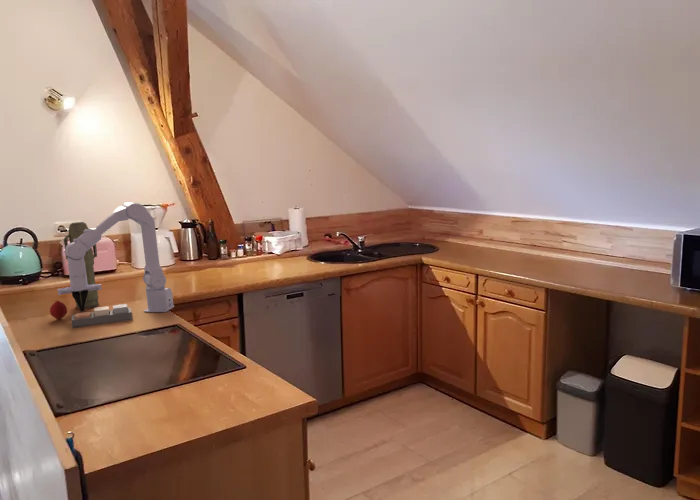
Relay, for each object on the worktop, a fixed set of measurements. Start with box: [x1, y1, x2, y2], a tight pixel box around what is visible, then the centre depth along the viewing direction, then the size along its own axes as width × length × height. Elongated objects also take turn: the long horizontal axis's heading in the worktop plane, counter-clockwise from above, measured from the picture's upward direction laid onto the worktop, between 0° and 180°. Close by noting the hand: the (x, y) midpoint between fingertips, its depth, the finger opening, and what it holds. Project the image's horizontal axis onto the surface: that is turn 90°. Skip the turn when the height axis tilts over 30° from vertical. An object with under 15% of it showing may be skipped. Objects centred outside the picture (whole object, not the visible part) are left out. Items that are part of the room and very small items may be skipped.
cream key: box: [93, 305, 110, 316], centre depth 216 cm, size 5×5×3 cm
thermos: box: [63, 221, 99, 309], centre depth 237 cm, size 9×12×35 cm
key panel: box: [70, 307, 133, 329], centre depth 216 cm, size 21×8×3 cm, turn 113°
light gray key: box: [112, 303, 129, 314], centre depth 218 cm, size 5×5×3 cm
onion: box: [49, 299, 68, 321], centre depth 220 cm, size 6×6×8 cm
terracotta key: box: [74, 311, 92, 319], centre depth 213 cm, size 5×5×3 cm
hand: (82, 311), depth 213 cm, fingers closed
